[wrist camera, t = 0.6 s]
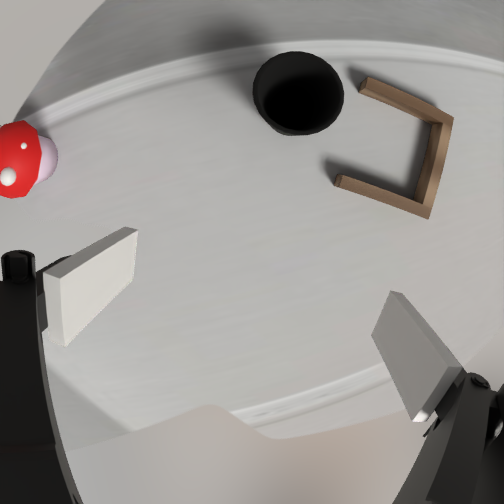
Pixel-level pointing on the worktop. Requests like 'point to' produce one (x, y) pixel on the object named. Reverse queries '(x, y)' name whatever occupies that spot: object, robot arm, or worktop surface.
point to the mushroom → (24, 159)
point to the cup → (298, 93)
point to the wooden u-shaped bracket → (433, 155)
